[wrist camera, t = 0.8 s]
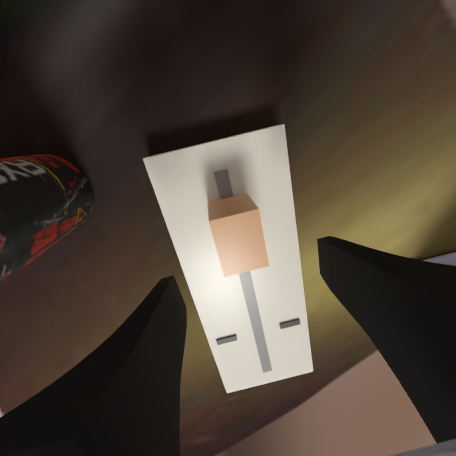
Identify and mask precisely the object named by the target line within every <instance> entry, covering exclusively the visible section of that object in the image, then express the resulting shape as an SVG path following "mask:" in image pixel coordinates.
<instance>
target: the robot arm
mask: <svg viewBox="0 0 456 456" xmlns="http://www.w3.org/2000/svg"><path fill="white" fill-rule="evenodd" d="M317 242H318V254H319V266H320V274H321V276H322V277H323V279H324V281H325V282H326V284H327V285H328V287H329V289H330V290H331V291H332V293H333V294H334V295H335V296H336V297H337V299H338V300H339V301H340V302H341V303H342V305H343V306H344V307H345V308H346V309H347V310H348V312H349V313H350V314H351V315H352V316H353V318H354V319H355V320H356V321H357V322H358V323H359V325H360V326H361V327H362V328H363V329H364V331H365V332H366V333H367V335H368V336H369V337H370V339H371V340H372V342H373V343H374V344H375V346H376V347H377V349H378V350H379V352H380V353H381V355H382V356H383V358H384V359H385V361H386V362H387V364H388V365H389V367H390V368H391V370H392V371H393V372H394V374H395V375H396V377H397V379H398V380H399V382H400V383H401V385H402V386H403V388H404V390H405V391H406V393H407V394H408V396H409V398H410V399H411V401H412V403H413V404H414V406H415V407H416V409H417V411H418V412H419V414H420V416H421V417H422V419H423V421H424V422H425V424H426V426H427V427H428V429H429V431H430V433H431V434H432V436H433V438H434V439H435V441H436V442H437V444H433V445H430V446H426V447H422V448H418V449H414V450H411V451H407V452H403V453H399V454H395V455H391V456H456V252H453V253H449V254H445V255H441V256H437V257H433V258H429V259H425V260H417V259H411V258H407V257H402V256H398V255H394V254H390V253H386V252H382V251H379V250H375V249H372V248H368V247H365V246H362V245H359V244H355V243H352V242H349V241H346V240H343V239H339V238H336V237H332V236H327V237H324V238H320V239H317ZM186 328H187V315H186V306H185V303H184V300H183V298H182V295H181V293H180V290H179V287H178V285H177V282H176V280H175V277H174V276H170V277H166V278H162V279H161V280H160V281H159V282H158V283H157V284H156V286H155V287H154V288H153V289H152V291H151V292H150V293H149V294H148V295H147V297H146V298H145V299H144V300H143V301H142V303H141V304H140V305H139V306H138V307H137V308H136V310H135V311H134V312H133V313H132V314H131V315H130V316H129V317H128V318H127V320H126V321H125V322H124V323H123V324H122V325H121V326H120V327H119V328H118V329H117V330H116V331H115V332H114V333H113V334H112V335H111V336H110V337H109V338H108V339H107V340H105V341H104V342H103V343H102V344H101V345H100V346H99V347H98V348H96V349H95V350H94V351H93V352H92V353H90V354H89V355H88V356H87V357H86V358H84V359H83V360H82V361H81V362H80V363H78V364H77V365H76V366H75V367H73V368H72V369H71V370H69V371H68V372H67V373H65V374H64V375H63V376H62V377H60V378H59V379H57V380H56V381H55V382H53V383H52V384H50V385H49V386H48V387H46V388H45V389H43V390H42V391H40V392H39V393H38V394H36V395H35V396H33V397H31V398H30V399H28V400H27V401H25V402H24V403H22V404H21V405H19V406H18V407H16V408H15V409H13V410H12V411H10V412H9V413H7V414H5V415H4V416H2V417H1V418H0V456H180V443H179V426H180V381H181V370H182V362H183V354H184V346H185V337H186Z"/></svg>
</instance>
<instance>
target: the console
mask: <svg viewBox="0 0 456 456" xmlns="http://www.w3.org/2000/svg"><path fill="white" fill-rule="evenodd" d="M143 161H144V163H145V166H146V169H147V172H148V175H149V177H150V180H151V183H152V186H153V189H154V191H155V194H156V197H157V200H158V202H159V205H160V208H161V211H162V214H163V216H164V219H165V222H166V225H167V228H168V230H169V233H170V236H171V239H172V242H173V244H174V247H175V250H176V253H177V255H178V258H179V261H180V264H181V267H182V269H183V272H184V275H185V278H186V281H187V283H188V286H189V289H190V292H191V294H192V297H193V300H194V303H195V306H196V308H197V311H198V314H199V317H200V320H201V322H202V325H203V328H204V331H205V334H206V336H207V339H208V342H209V345H210V347H211V350H212V353H213V356H214V359H215V361H216V364H217V367H218V370H219V373H220V375H221V378H222V381H223V384H224V386H225V389H226V392H227V393H231V392H234V391H238V390H242V389H246V388H250V387H254V386H258V385H262V384H266V383H270V382H274V381H278V380H282V379H285V378H289V377H293V376H297V375H301V374H305V373H309V372H313V365H312V357H311V348H310V340H309V331H308V323H307V314H306V305H305V297H304V288H303V280H302V271H301V263H300V254H299V245H298V237H297V228H296V220H295V211H294V203H293V194H292V185H291V177H290V168H289V160H288V151H287V143H286V134H285V125H284V124H281V125H275V126H271V127H267V128H263V129H259V130H254V131H250V132H246V133H242V134H238V135H234V136H230V137H226V138H222V139H218V140H214V141H210V142H206V143H202V144H197V145H193V146H189V147H185V148H181V149H177V150H173V151H169V152H165V153H161V154H157V155H153V156H149V157H146V158H144V159H143ZM244 193H247V194H248V195H249V197H250V198H251V199H252V200H253V202H254V203H255V204H256V206H257V207H258V208H259V212H260V218H261V223H262V229H263V235H264V240H265V246H266V251H267V257H268V262H269V266H267V267H263V268H259V269H255V270H251V271H247V272H243V273H239V274H235V275H232V276H228V277H224V274H223V271H222V267H221V264H220V260H219V256H218V253H217V249H216V246H215V242H214V238H213V235H212V231H211V228H210V224H209V218H208V202H212V201H216V200H220V199H224V198H228V197H232V196H236V195H240V194H244Z"/></svg>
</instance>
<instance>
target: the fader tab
mask: <svg viewBox="0 0 456 456" xmlns="http://www.w3.org/2000/svg"><path fill="white" fill-rule="evenodd" d="M208 218H209V224H210V228H211V231H212V235H213V238H214V242H215V246H216V249H217V253H218V256H219V260H220V264H221V267H222V271H223V274H224V277H228V276H232V275H235V274H239V273H243V272H247V271H251V270H255V269H259V268H263V267H267V266H269V262H268V257H267V251H266V246H265V240H264V235H263V229H262V223H261V218H260V212H259V208H258V207H257V206H256V204H255V203H254V202H253V200H252V199H251V198H250V197H249V195H248V194H247V193H244V194H240V195H236V196H232V197H228V198H224V199H220V200H216V201H212V202H208Z"/></svg>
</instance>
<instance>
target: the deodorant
mask: <svg viewBox="0 0 456 456" xmlns="http://www.w3.org/2000/svg"><path fill="white" fill-rule="evenodd" d="M94 200H95V199H94V193H93V189H92V187H91V185H90V182H89V180H88V179H87V178H86V176H85V175H84V174H83V173H82V171H81V170H79V169H78V168H77V167H76V166H75V165H73V164H72V163H70V162H69V161H67V160H65V159H63V158H61V157H57V156H53V155H49V154H35V155H27V156H18V157H9V158H1V159H0V284H1V283H2V282H4V281H5V280H6V279H8V278H9V277H10V276H12V275H13V274H14V273H16V272H17V271H19V270H20V269H21V268H23V267H24V266H25V265H27V264H28V263H29V262H31V261H32V260H33V259H35V258H36V257H38V256H39V255H40V254H42V253H43V252H44V251H46V250H47V249H48V248H50V247H51V246H53V245H54V244H55V243H57V242H58V241H59V240H61V239H62V238H63V237H65V236H66V235H68V234H69V233H70V232H72V231H73V230H74V229H76V228H77V227H78V226H80V225H81V224H83V223H84V222H85V221H86V220H87V219H88V218H89V217H90V215H91V213H92V211H93V208H94Z"/></svg>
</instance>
